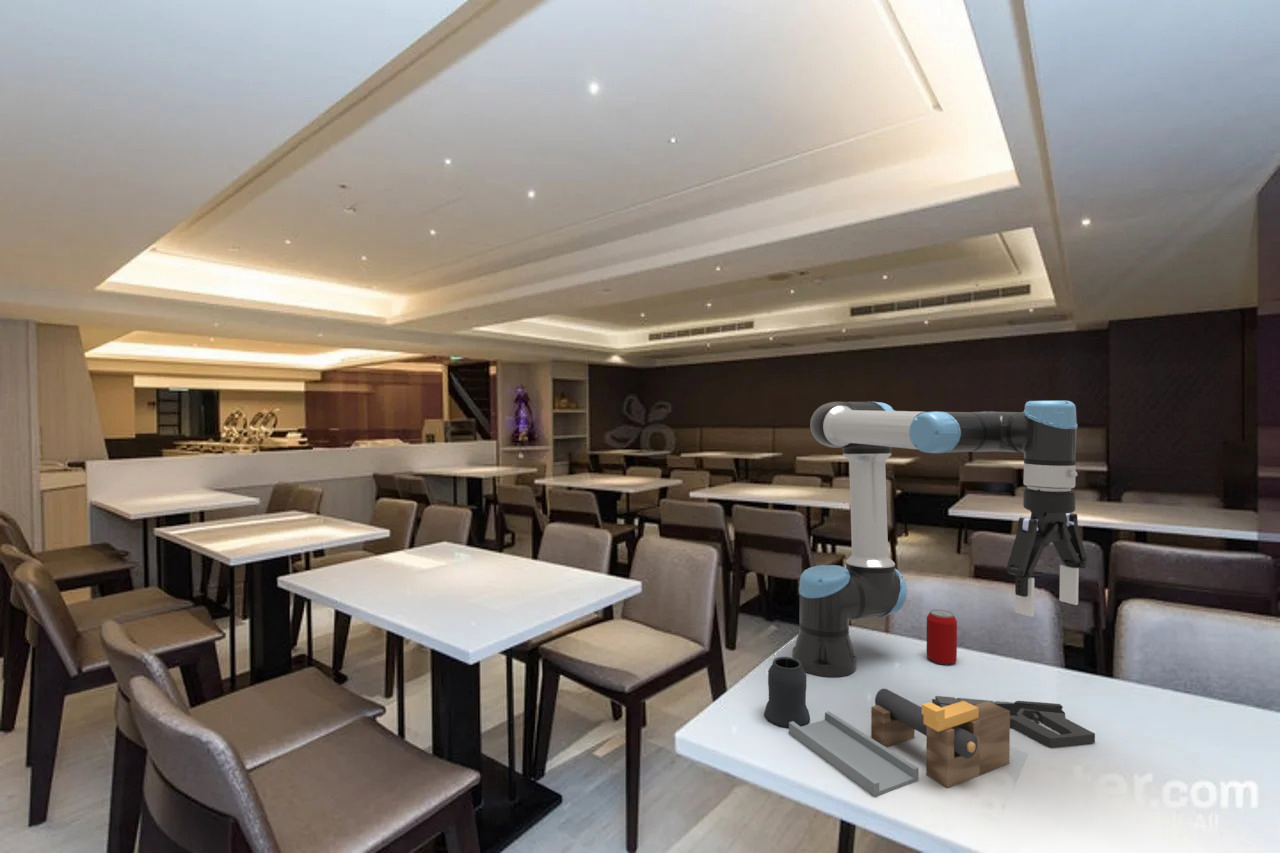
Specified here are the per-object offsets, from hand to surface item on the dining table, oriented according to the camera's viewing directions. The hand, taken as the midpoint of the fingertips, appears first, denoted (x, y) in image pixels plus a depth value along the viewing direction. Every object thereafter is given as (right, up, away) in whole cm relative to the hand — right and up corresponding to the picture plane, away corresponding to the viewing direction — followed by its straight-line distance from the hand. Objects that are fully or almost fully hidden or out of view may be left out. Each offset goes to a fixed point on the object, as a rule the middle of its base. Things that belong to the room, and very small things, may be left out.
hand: (1047, 608), depth 104 cm
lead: (-21, -23, +2) cm, 31 cm away
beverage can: (+3, -27, +43) cm, 51 cm away
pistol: (+1, -28, +13) cm, 30 cm away
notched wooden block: (-15, -27, -2) cm, 31 cm away
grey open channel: (-34, -27, +2) cm, 44 cm away
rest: (-24, -27, +8) cm, 37 cm away
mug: (-42, -27, +17) cm, 53 cm away
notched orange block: (-19, -18, -4) cm, 27 cm away
